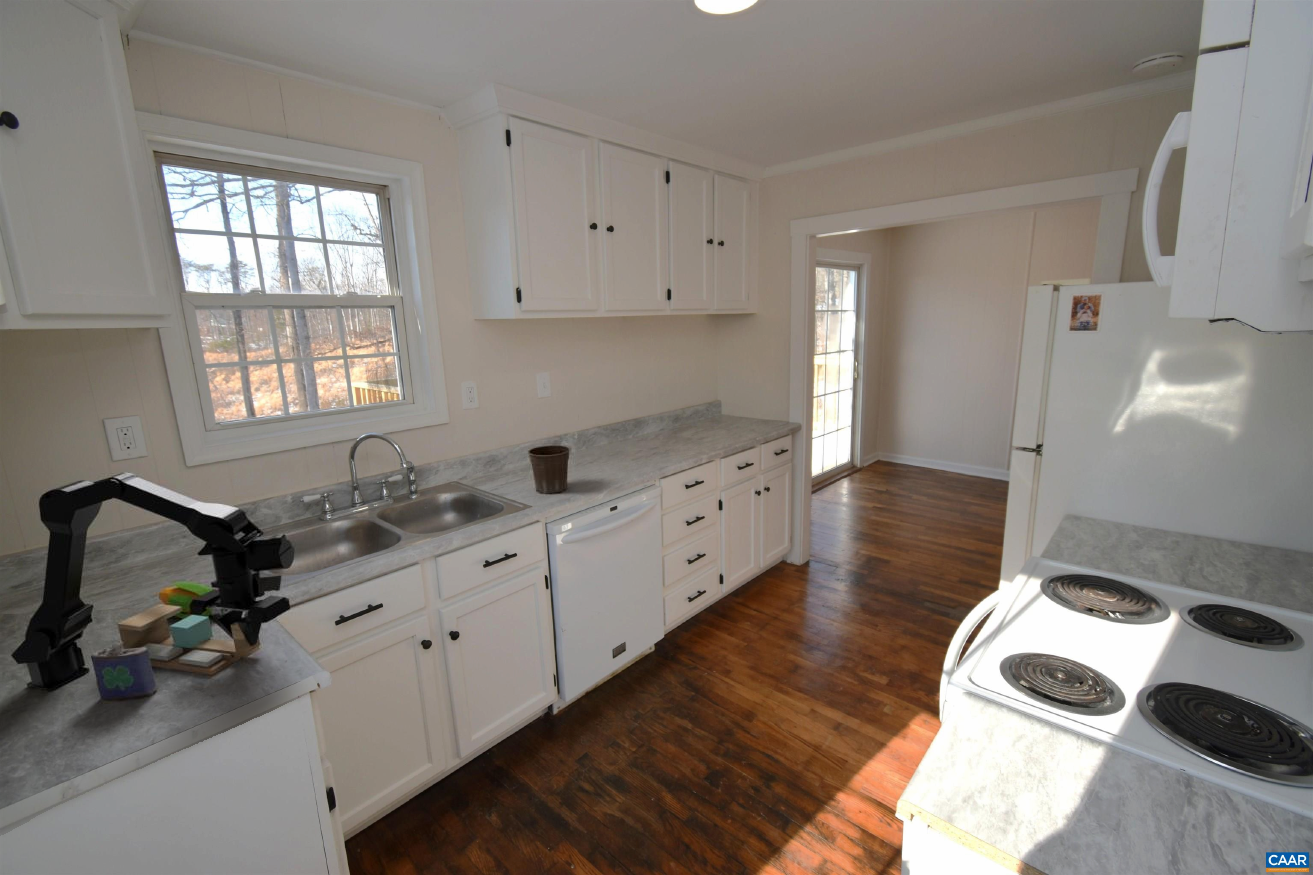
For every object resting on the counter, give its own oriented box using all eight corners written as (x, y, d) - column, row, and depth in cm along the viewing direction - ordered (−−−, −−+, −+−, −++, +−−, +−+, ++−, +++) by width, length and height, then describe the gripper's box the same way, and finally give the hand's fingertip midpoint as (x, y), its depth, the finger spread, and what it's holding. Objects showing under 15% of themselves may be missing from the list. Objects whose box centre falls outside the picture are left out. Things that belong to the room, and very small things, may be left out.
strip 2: (247, 657, 114) (241, 626, 113) (172, 647, 119) (165, 616, 117) (261, 649, 117) (255, 618, 116) (187, 639, 121) (180, 609, 120)
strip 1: (207, 666, 112) (206, 662, 111) (133, 655, 116) (132, 651, 116) (222, 657, 114) (221, 653, 114) (149, 647, 119) (148, 643, 119)
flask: (161, 688, 107) (148, 636, 105) (149, 698, 104) (136, 646, 102) (108, 692, 107) (94, 640, 104) (94, 702, 104) (80, 649, 101)
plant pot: (568, 495, 217) (566, 454, 213) (526, 496, 217) (523, 455, 214) (575, 483, 233) (573, 444, 229) (536, 484, 233) (533, 445, 230)
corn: (193, 596, 127) (138, 583, 134) (197, 628, 128) (142, 614, 135) (228, 584, 134) (174, 572, 141) (232, 614, 135) (178, 601, 142)
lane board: (212, 675, 111) (204, 635, 109) (126, 661, 116) (117, 623, 114) (250, 651, 119) (242, 614, 117) (167, 640, 124) (159, 604, 122)
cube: (191, 648, 116) (187, 628, 115) (174, 645, 117) (169, 625, 116) (212, 636, 120) (208, 616, 120) (196, 634, 122) (192, 614, 121)
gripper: (306, 558, 118) (317, 627, 121) (233, 552, 122) (246, 618, 125) (258, 583, 107) (272, 657, 110) (180, 575, 111) (195, 647, 115)
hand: (247, 643), depth 115 cm, fingers closed on strip 2, 3 cm apart
